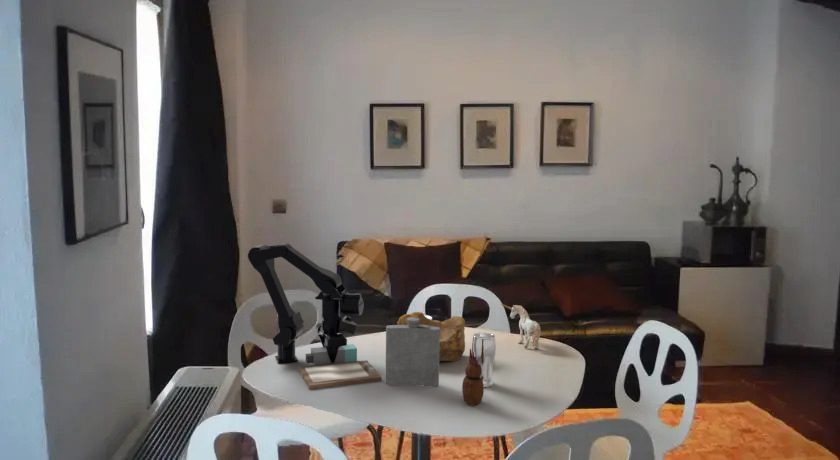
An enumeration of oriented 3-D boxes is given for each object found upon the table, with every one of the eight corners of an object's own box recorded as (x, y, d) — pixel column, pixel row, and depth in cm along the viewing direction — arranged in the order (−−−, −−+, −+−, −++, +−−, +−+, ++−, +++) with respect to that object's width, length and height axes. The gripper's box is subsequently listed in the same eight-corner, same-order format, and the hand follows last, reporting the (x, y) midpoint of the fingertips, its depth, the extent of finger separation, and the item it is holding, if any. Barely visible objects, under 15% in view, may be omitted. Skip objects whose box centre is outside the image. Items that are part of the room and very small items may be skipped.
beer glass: (493, 389, 195) (494, 339, 193) (469, 387, 196) (471, 338, 194) (495, 380, 201) (496, 333, 199) (472, 378, 203) (473, 331, 201)
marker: (304, 363, 214) (304, 348, 214) (352, 358, 220) (352, 344, 219) (307, 368, 210) (307, 353, 209) (356, 363, 215) (356, 348, 215)
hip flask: (384, 385, 197) (385, 319, 194) (386, 380, 201) (387, 316, 198) (438, 387, 196) (439, 321, 193) (438, 382, 200) (440, 317, 197)
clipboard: (299, 371, 207) (299, 364, 207) (366, 363, 215) (367, 357, 215) (309, 389, 192) (309, 382, 192) (381, 380, 200) (381, 373, 200)
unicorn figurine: (514, 336, 248) (515, 301, 246) (551, 350, 232) (553, 313, 230) (499, 339, 244) (500, 303, 242) (536, 353, 228) (537, 316, 226)
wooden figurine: (460, 398, 188) (461, 346, 186) (480, 397, 188) (482, 346, 186) (464, 407, 181) (465, 354, 179) (484, 407, 181) (486, 354, 179)
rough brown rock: (393, 370, 212) (395, 326, 209) (396, 349, 228) (398, 308, 225) (465, 374, 212) (468, 330, 208) (463, 353, 228) (466, 312, 224)
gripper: (362, 318, 207) (362, 366, 209) (347, 304, 224) (347, 348, 226) (327, 321, 203) (327, 370, 205) (315, 306, 220) (315, 352, 222)
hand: (330, 359), depth 215 cm, fingers closed on marker, 5 cm apart
